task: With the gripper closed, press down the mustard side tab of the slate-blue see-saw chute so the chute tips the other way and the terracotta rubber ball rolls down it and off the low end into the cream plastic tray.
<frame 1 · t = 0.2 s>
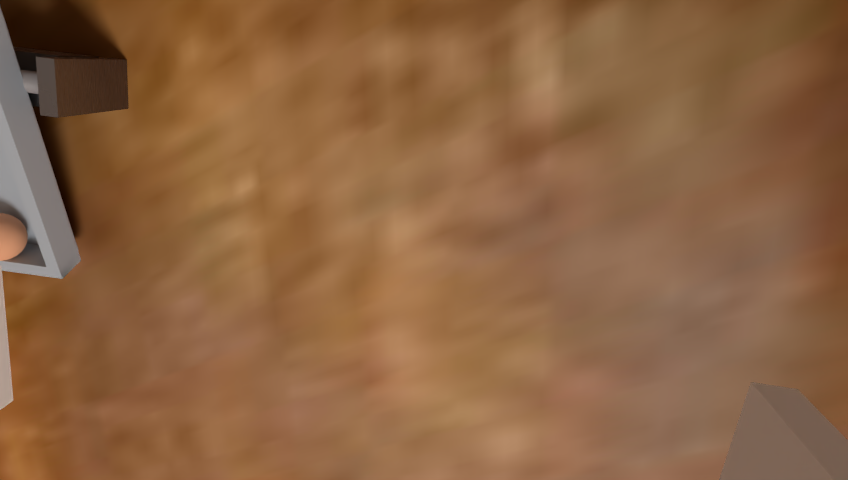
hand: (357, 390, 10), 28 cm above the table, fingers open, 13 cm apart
fulcrum: (30, 72, 38), on the table
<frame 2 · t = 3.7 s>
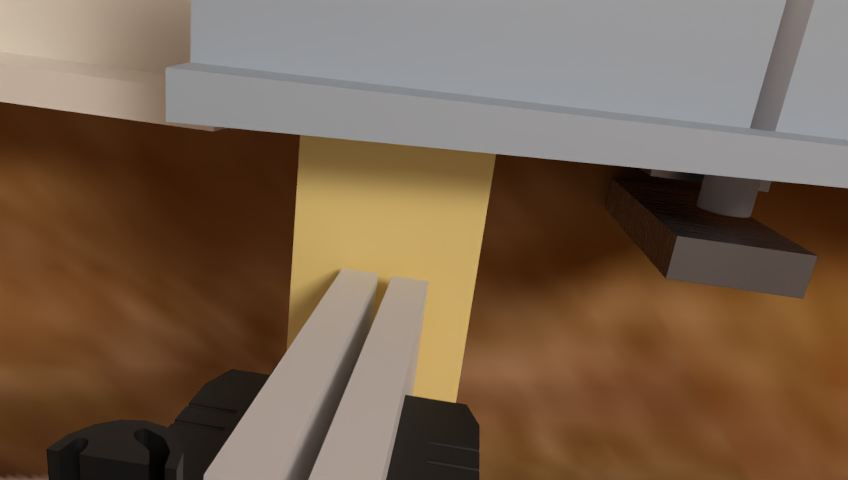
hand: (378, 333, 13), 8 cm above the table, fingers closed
lever: (778, 128, 13), point 6 cm above the table, hinge at 15.4°, touching ball, gripper
fulcrum: (702, 6, 18), on the table
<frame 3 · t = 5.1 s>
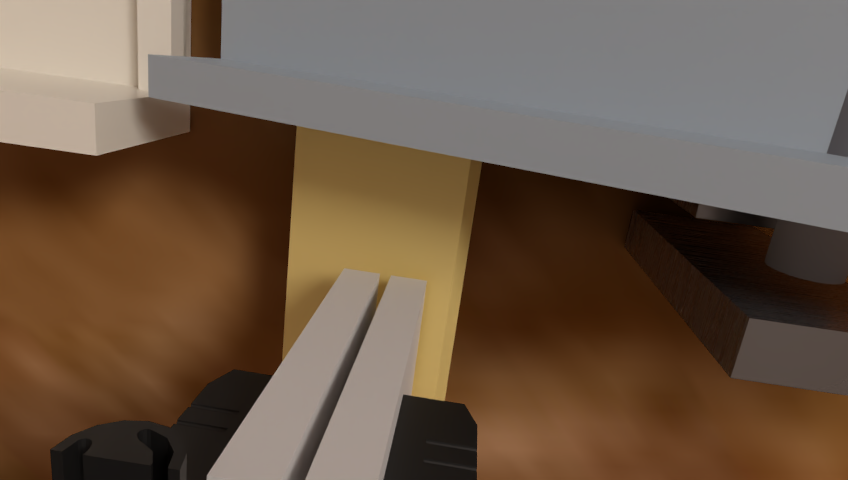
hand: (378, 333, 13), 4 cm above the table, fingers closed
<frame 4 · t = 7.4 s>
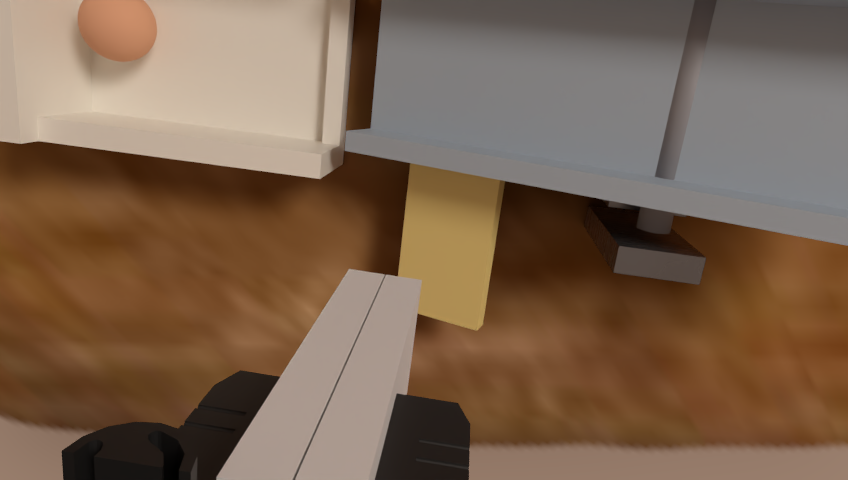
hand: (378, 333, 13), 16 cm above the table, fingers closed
lever: (664, 177, 21), point 6 cm above the table, hinge at -18.4°
tray: (210, 36, 27), on the table
ball: (118, 24, 25), point 2 cm above the table, tilted 85°, touching tray
fulcrum: (647, 88, 26), on the table
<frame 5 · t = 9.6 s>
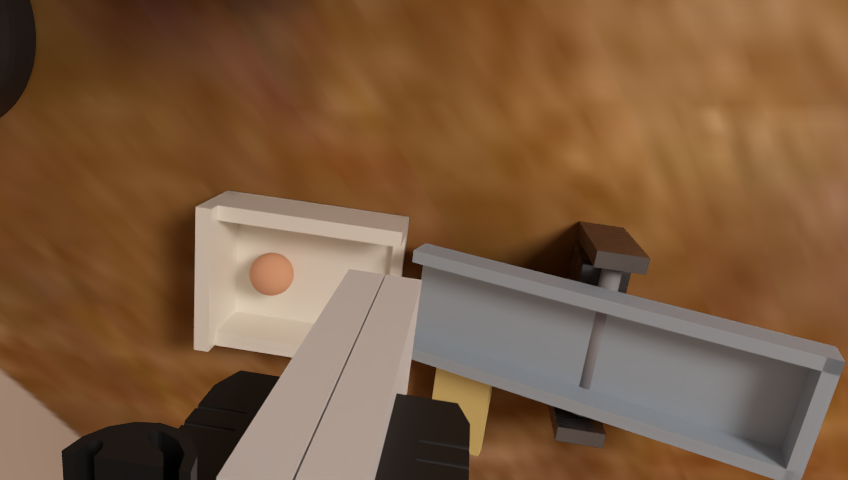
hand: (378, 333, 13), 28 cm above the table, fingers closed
lever: (583, 389, 37), point 6 cm above the table, hinge at -18.4°
tray: (313, 270, 43), on the table
ball: (271, 274, 41), point 2 cm above the table, tilted 114°, touching tray
fulcrum: (582, 310, 42), on the table
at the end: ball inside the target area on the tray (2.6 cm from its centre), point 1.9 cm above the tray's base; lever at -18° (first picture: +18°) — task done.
